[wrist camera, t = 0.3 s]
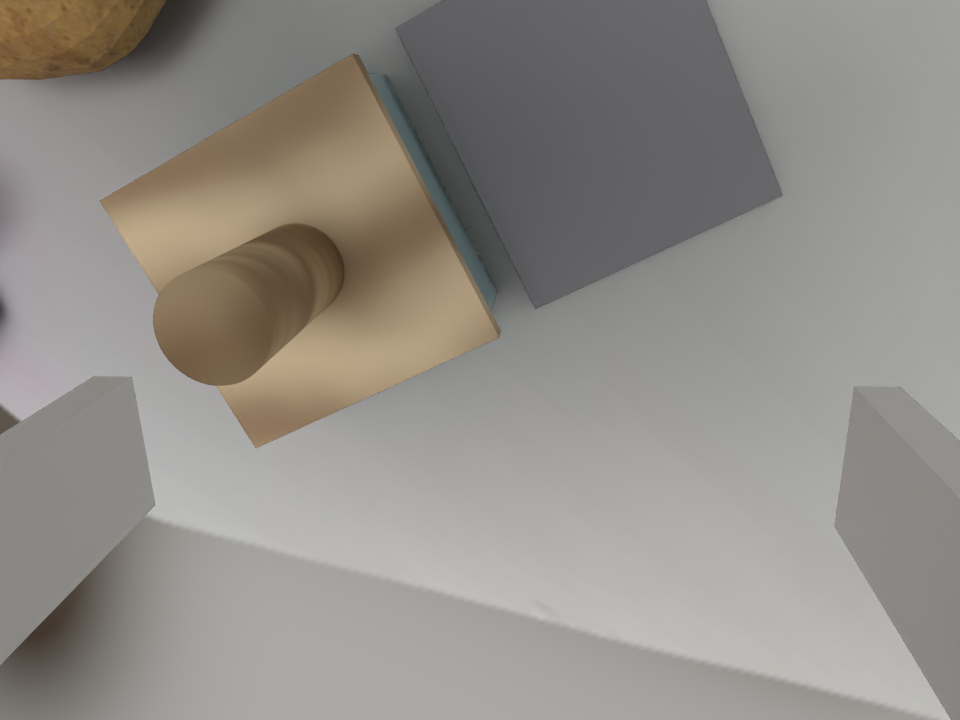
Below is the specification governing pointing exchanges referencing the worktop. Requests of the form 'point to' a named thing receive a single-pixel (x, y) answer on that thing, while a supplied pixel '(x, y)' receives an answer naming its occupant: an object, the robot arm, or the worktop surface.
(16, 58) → the potato
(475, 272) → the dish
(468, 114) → the mat
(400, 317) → the lid
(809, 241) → the worktop surface
